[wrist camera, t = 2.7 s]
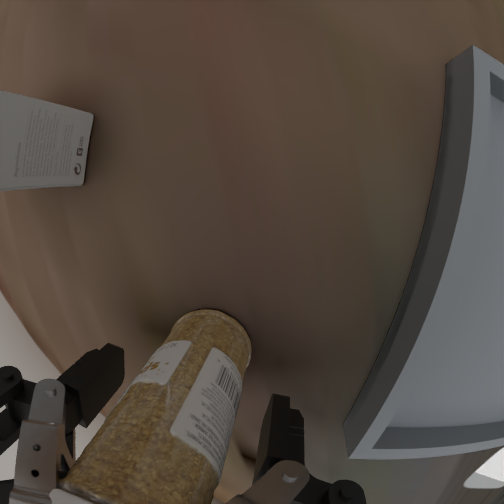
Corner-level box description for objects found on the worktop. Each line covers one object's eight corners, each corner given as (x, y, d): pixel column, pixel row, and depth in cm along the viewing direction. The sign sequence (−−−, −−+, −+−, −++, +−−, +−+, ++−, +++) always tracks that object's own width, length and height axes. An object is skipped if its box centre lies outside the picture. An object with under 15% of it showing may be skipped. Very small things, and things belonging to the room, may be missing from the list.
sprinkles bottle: (171, 301, 15) (-15, 501, 2) (257, 312, 15) (172, 606, 2) (174, 370, 16) (59, 561, 3) (250, 383, 16) (193, 614, 3)
